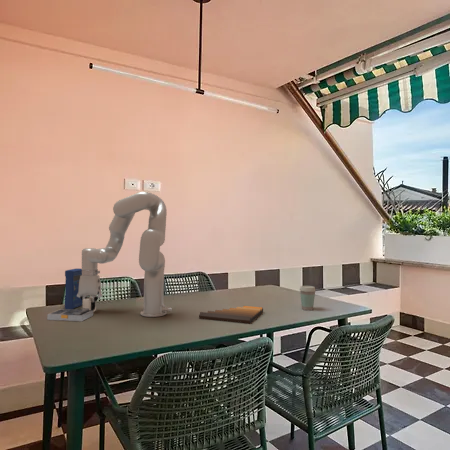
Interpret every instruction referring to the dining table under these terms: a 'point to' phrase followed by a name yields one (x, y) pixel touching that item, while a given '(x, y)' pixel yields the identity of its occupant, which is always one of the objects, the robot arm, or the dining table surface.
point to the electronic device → (72, 288)
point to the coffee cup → (307, 297)
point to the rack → (70, 314)
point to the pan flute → (234, 314)
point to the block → (88, 303)
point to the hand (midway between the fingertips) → (89, 309)
